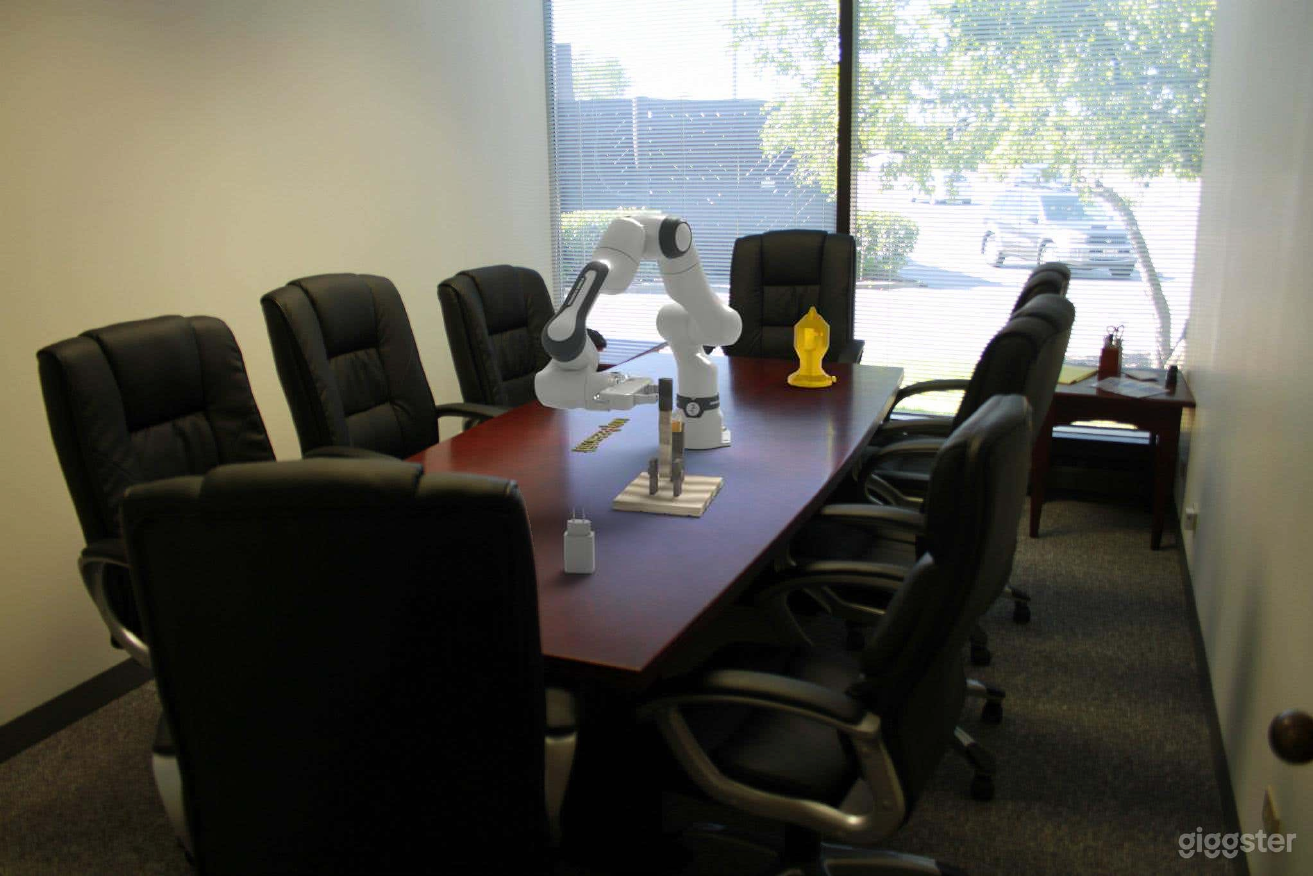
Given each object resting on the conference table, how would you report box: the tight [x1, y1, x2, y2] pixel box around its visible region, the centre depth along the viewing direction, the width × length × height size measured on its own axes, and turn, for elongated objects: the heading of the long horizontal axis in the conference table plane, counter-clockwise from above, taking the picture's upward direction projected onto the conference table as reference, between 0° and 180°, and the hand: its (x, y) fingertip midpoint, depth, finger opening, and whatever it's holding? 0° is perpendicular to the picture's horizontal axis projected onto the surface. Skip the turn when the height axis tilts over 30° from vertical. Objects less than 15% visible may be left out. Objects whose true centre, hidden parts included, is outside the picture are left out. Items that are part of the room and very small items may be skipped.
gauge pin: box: [672, 415, 682, 432], centre depth 227 cm, size 10×5×2 cm, turn 165°
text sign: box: [571, 417, 631, 453], centre depth 286 cm, size 40×1×8 cm
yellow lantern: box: [787, 306, 837, 388], centre depth 359 cm, size 18×24×28 cm
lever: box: [657, 377, 674, 479], centre depth 219 cm, size 3×3×22 cm
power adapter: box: [563, 508, 596, 574], centre depth 182 cm, size 3×5×12 cm, turn 84°
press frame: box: [612, 422, 724, 518], centre depth 225 cm, size 24×20×16 cm
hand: (662, 394), depth 218 cm, fingers open, 8 cm apart
